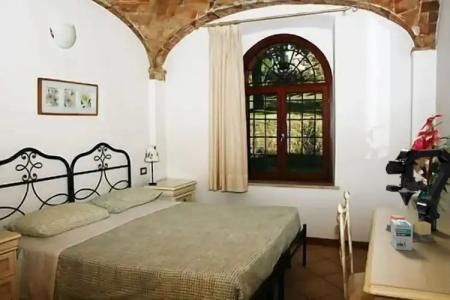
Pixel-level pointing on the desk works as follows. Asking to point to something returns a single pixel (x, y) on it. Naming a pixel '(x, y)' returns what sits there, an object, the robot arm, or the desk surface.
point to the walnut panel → (417, 236)
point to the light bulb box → (401, 234)
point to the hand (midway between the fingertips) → (406, 205)
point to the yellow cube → (422, 228)
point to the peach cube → (396, 217)
